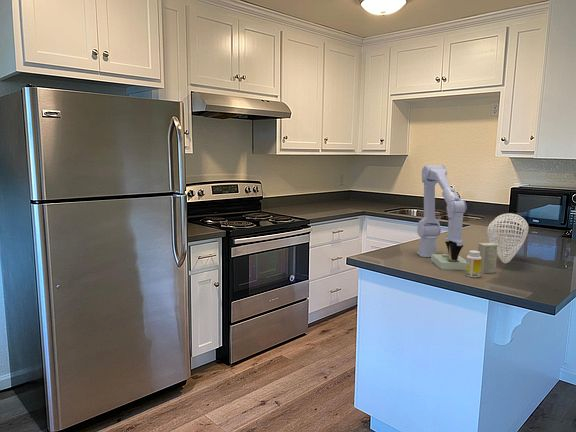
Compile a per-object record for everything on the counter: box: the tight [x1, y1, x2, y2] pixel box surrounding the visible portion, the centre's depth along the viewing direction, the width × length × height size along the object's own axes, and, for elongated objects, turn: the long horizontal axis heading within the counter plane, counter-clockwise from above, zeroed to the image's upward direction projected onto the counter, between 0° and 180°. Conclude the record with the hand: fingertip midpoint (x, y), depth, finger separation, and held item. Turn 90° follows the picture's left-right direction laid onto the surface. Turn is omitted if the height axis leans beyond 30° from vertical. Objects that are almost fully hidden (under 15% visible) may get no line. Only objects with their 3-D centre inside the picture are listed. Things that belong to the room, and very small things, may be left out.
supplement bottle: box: [465, 249, 482, 278], centre depth 174 cm, size 6×6×10 cm
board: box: [430, 253, 467, 271], centre depth 192 cm, size 16×12×3 cm
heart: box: [486, 212, 530, 264], centre depth 195 cm, size 28×16×22 cm, turn 148°
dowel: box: [448, 246, 456, 262], centre depth 187 cm, size 3×3×9 cm
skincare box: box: [477, 242, 498, 274], centre depth 181 cm, size 6×4×12 cm
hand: (453, 258), depth 187 cm, fingers closed on dowel, 3 cm apart
